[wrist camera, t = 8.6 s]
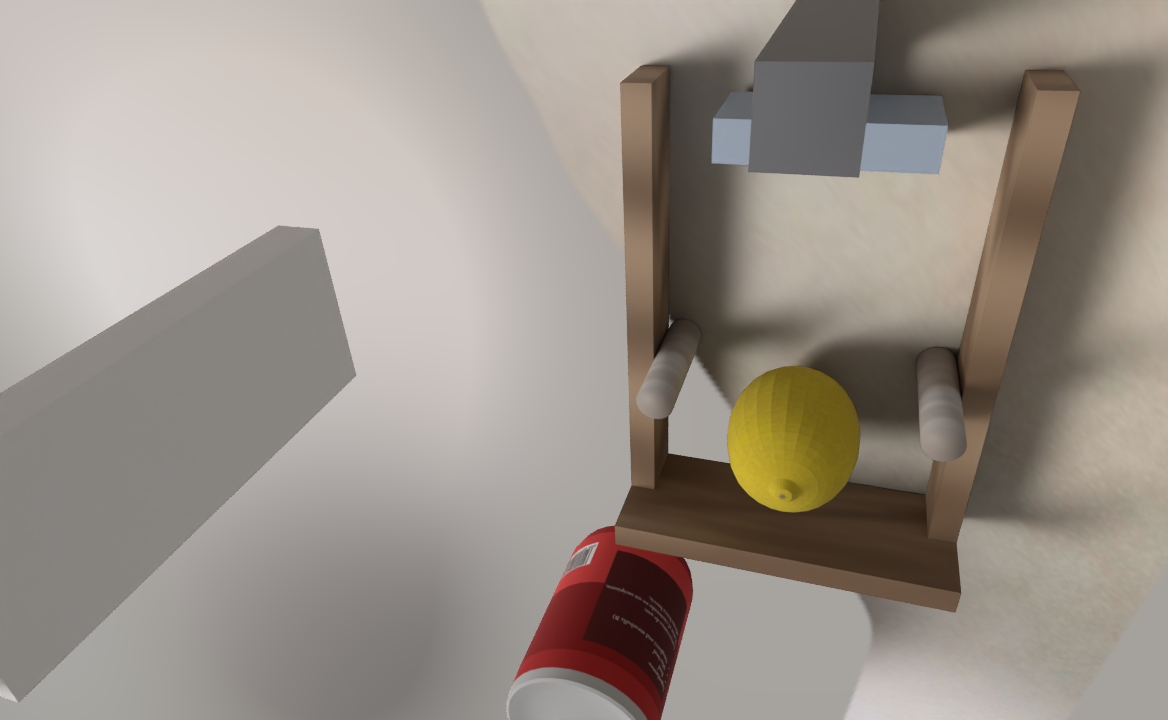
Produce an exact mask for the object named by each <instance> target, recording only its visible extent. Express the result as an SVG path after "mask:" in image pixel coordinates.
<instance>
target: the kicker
mask: <svg viewBox="0 0 1168 720" xmlns="http://www.w3.org/2000/svg"><path fill="white" fill-rule="evenodd" d="M879 4H880V0H796V1H795V3H794V4H793V6H792V7H791V9H790V10H789V12H788V13H787V15H786V16H785V18H784V19H783V21H782V22H781V24H780V25H779V26H778V28H777V29H776V31H775V32H774V34H773V35H772V37H771V38H770V40H769V41H768V43H767V44H766V46H765V47H764V49H763V50H762V51H761V53H760V54H759V56H758V57H757V59H756V60H755V67H754V84H753V92H736V91H732V92H731V93H730V95H729V96H728V98H727V99H726V100H725V102H724V103H723V105H722V106H721V108H720V109H719V111H718V112H717V113H716V115H715V116H714V118H713V134H712V163H717V164H737V165H749V169H748V172H761V173H781V174H801V175H820V176H840V177H859V173H860V170H861V171H882V172H902V173H923V174H939V171H940V166H941V160H942V155H943V150H944V145H945V140H946V134H947V129H948V123H947V118H946V114H945V109H944V104H943V99H942V96H928V95H880V94H870V93H871V85H872V78H873V71H874V63H875V52H876V40H877V28H878V16H879Z"/></svg>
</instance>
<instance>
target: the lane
mask: <svg viewBox="0 0 1168 720" xmlns="http://www.w3.org/2000/svg"><path fill="white" fill-rule="evenodd" d="M620 92H621V127H622V163H623V198H624V234H625V269H626V305H627V338H628V339H627V340H628V376H629V410H630V411H629V412H630V447H631V481H632V482H631V483H632V486H631V488H630V491H629V493H628V495H627V498H626V500H625V503H624V505H623V508H622V510H621V512H620V515H619V517H618V519H617V522H616V525H615V541H616V544H618V545H623V546H628V547H633V548H638V549H643V550H648V551H653V552H658V553H663V554H668V555H672V556H677V557H682V558H687V559H692V560H697V561H702V562H708V563H713V564H717V565H722V566H727V567H732V568H737V569H742V570H747V571H752V572H757V573H762V574H767V575H772V576H777V577H781V578H787V579H792V580H797V581H801V582H806V583H811V584H816V585H822V586H826V587H831V588H836V589H841V590H846V591H851V592H856V593H861V594H866V595H871V596H876V597H881V598H886V599H890V600H895V601H900V602H905V603H910V604H915V605H920V606H925V607H930V608H935V609H940V610H945V611H950V612H955V613H956V609H957V606H958V602H959V599H960V596H961V586H960V576H959V565H958V555H957V544H956V543H957V539H958V536H959V532H960V528H961V525H962V521H963V517H964V514H965V510H966V507H967V503H968V499H969V496H970V492H971V488H972V485H973V481H974V477H975V474H976V470H977V466H978V463H979V459H980V455H981V452H982V448H983V444H984V441H985V437H986V434H987V430H988V426H989V423H990V419H991V415H992V412H993V408H994V404H995V401H996V397H997V393H998V390H999V386H1000V382H1001V379H1002V375H1003V371H1004V368H1005V364H1006V361H1007V357H1008V353H1009V350H1010V346H1011V342H1012V339H1013V335H1014V331H1015V328H1016V324H1017V320H1018V317H1019V313H1020V309H1021V306H1022V302H1023V298H1024V295H1025V291H1026V288H1027V284H1028V280H1029V277H1030V273H1031V269H1032V266H1033V262H1034V258H1035V255H1036V251H1037V247H1038V244H1039V240H1040V236H1041V233H1042V229H1043V226H1044V222H1045V218H1046V215H1047V211H1048V207H1049V204H1050V200H1051V196H1052V193H1053V189H1054V185H1055V182H1056V178H1057V174H1058V171H1059V167H1060V163H1061V160H1062V156H1063V153H1064V149H1065V145H1066V142H1067V138H1068V134H1069V131H1070V127H1071V123H1072V120H1073V116H1074V112H1075V109H1076V105H1077V101H1078V98H1079V94H1080V90H1079V89H1078V88H1077V87H1076V85H1075V84H1074V83H1073V82H1072V80H1071V79H1070V78H1069V77H1068V76H1067V74H1066V73H1065V72H1064V71H1038V70H1025V73H1024V77H1023V82H1022V86H1021V90H1020V94H1019V99H1018V103H1017V107H1016V112H1015V116H1014V120H1013V124H1012V129H1011V133H1010V137H1009V141H1008V146H1007V150H1006V154H1005V158H1004V163H1003V167H1002V171H1001V175H1000V180H999V184H998V188H997V193H996V197H995V201H994V205H993V210H992V214H991V218H990V222H989V227H988V231H987V235H986V239H985V244H984V248H983V252H982V256H981V261H980V265H979V269H978V274H977V278H976V282H975V286H974V291H973V295H972V299H971V303H970V308H969V312H968V316H967V320H966V325H965V329H964V333H963V337H962V342H961V346H960V350H959V355H958V359H957V363H956V358H955V356H954V354H953V353H952V352H951V351H949V350H948V349H945V348H942V347H932V348H928V349H926V350H924V351H923V352H921V353H920V355H919V356H918V358H917V362H916V365H917V385H918V405H919V425H920V446H921V449H922V451H923V453H924V454H925V455H926V456H927V457H929V458H931V459H933V460H934V461H933V465H932V470H931V474H930V478H929V482H928V487H927V491H926V495H921V494H915V493H909V492H902V491H896V490H890V489H884V488H878V487H872V486H866V485H859V484H853V483H846V485H845V486H844V487H843V488H842V490H841V491H840V492H839V493H838V494H837V495H836V496H835V497H834V498H833V499H832V500H830V501H828V502H827V503H825V504H823V505H822V506H820V507H818V508H815V509H812V510H809V511H803V512H783V511H778V510H775V509H771V508H769V507H767V506H765V505H763V504H761V503H759V502H757V501H756V500H755V499H753V498H752V497H751V496H750V495H748V494H747V492H746V491H745V490H744V489H743V488H742V487H741V485H740V484H739V483H738V481H737V479H736V477H735V475H734V473H733V470H732V468H731V464H730V463H724V462H718V461H711V460H705V459H699V458H693V457H686V456H681V455H675V454H668V416H669V415H670V414H671V412H672V410H673V408H674V405H675V403H676V400H677V397H678V395H679V392H680V390H681V388H682V385H683V382H684V380H685V377H686V375H687V372H688V370H689V367H690V365H691V363H692V360H693V357H694V355H695V352H696V350H697V347H698V345H699V342H700V340H701V331H700V328H699V327H698V326H697V325H696V324H695V323H694V322H692V321H690V320H686V319H680V320H677V321H675V322H673V323H672V324H671V326H670V327H669V133H670V66H640V67H639V68H638V69H636V70H635V71H634V72H633V73H632V74H630V75H629V76H628V77H627V78H626V79H624V80H623V81H622V82H621V83H620Z"/></svg>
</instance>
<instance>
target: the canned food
mask: <svg viewBox="0 0 1168 720" xmlns="http://www.w3.org/2000/svg"><path fill="white" fill-rule="evenodd" d="M692 595H693V587H692V578H691V572H690V569H689V567H688V565H687V563H686V561H685V559H684V558H682V557H677V556H672V555H668V554H663V553H658V552H653V551H648V550H643V549H638V548H633V547H628V546H623V545H618V544H616V541H615V526H609V527H605V528H602V529H598V530H596V531H595V532H593V533H591V534H590V535H589V536H588V537H587V538H586V539H584V540H583V541H582V542H581V543H580V545H578V546H577V547H576V549H575V551H574V553H573V554H572V556H571V558H570V561H569V563H568V565H567V567H566V569H565V571H564V574H563V576H562V578H561V580H560V582H559V584H558V586H557V589H556V591H555V593H554V595H553V597H552V599H551V601H550V604H549V606H548V608H547V610H546V612H545V614H544V616H543V618H542V621H541V623H540V625H539V627H538V629H537V631H536V633H535V636H534V638H533V640H532V642H531V644H530V646H529V648H528V651H527V653H526V655H525V657H524V659H523V661H522V664H521V666H520V668H519V670H518V673H517V675H516V677H515V680H514V682H513V684H512V686H511V689H510V693H509V696H508V698H507V704H506V710H507V716H508V719H509V720H661V716H662V712H663V709H664V705H665V700H666V697H667V693H668V690H669V686H670V682H671V678H672V674H673V671H674V666H675V663H676V659H677V655H678V652H679V648H680V644H681V640H682V636H683V632H684V629H685V625H686V621H687V617H688V614H689V610H690V606H691V602H692Z"/></svg>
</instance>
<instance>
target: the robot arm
mask: <svg viewBox="0 0 1168 720" xmlns="http://www.w3.org/2000/svg"><path fill="white" fill-rule="evenodd" d="M355 376H356V373H355V369H354V365H353V361H352V357H351V353H350V349H349V345H348V341H347V337H346V334H345V330H344V326H343V322H342V318H341V314H340V310H339V307H338V302H337V298H336V294H335V291H334V287H333V283H332V279H331V275H330V271H329V267H328V263H327V259H326V256H325V252H324V248H323V244H322V240H321V236H320V232H319V229H313V228H300V227H289V226H277V227H275V228H274V229H272V230H270V231H269V232H267V233H266V234H264V235H262V236H260V237H259V238H257V239H256V240H254V241H252V242H251V243H249V244H247V245H246V246H244V247H242V248H241V249H239V250H237V251H236V252H234V253H232V254H231V255H229V256H227V257H226V258H224V259H222V260H221V261H219V262H217V263H216V264H214V265H212V266H211V267H209V268H207V269H206V270H204V271H202V272H201V273H199V274H198V275H196V276H194V277H192V278H191V279H189V280H187V281H186V282H184V283H182V284H181V285H179V286H177V287H176V288H174V289H172V290H171V291H169V292H168V293H166V294H164V295H163V296H161V297H159V298H157V299H156V300H155V301H153V302H151V303H149V304H148V305H146V306H144V307H143V308H141V309H139V310H138V311H136V312H134V313H133V314H131V315H129V316H128V317H126V318H124V319H123V320H121V321H119V322H118V323H116V324H114V325H113V326H111V327H109V328H108V329H106V330H104V331H103V332H101V333H99V334H98V335H96V336H94V337H93V338H91V339H89V340H88V341H86V342H84V343H83V344H81V345H80V346H78V347H76V348H75V349H73V350H71V351H70V352H68V353H66V354H65V355H63V356H61V357H60V358H58V359H56V360H55V361H53V362H51V363H50V364H48V365H47V366H45V367H43V368H42V369H40V370H38V371H36V372H35V373H33V374H31V375H30V376H28V377H26V378H25V379H23V380H21V381H20V382H18V383H16V384H15V385H13V386H12V387H10V388H8V389H7V390H5V391H3V392H2V393H0V696H1V697H4V698H7V699H9V700H12V701H15V702H18V703H19V702H20V701H21V700H22V699H23V698H24V697H25V696H26V695H27V694H28V693H29V692H30V691H31V690H32V689H33V688H35V687H36V686H37V685H38V684H39V683H40V682H41V681H42V680H43V679H44V678H45V677H46V676H47V675H48V674H49V673H50V672H51V671H52V670H53V669H54V668H55V667H56V666H57V665H58V664H59V663H60V662H61V661H62V660H63V659H64V658H65V657H66V656H67V655H68V654H70V653H71V652H72V651H73V650H74V649H75V648H76V647H77V646H78V645H79V644H80V643H81V642H82V641H83V640H84V639H85V638H86V637H87V636H88V635H89V634H90V633H91V632H92V631H93V630H94V629H95V628H96V627H97V626H98V625H99V624H101V622H103V621H104V620H105V619H106V618H107V617H108V616H109V615H110V614H111V613H112V612H113V611H114V610H115V609H116V608H117V607H118V606H119V605H120V604H121V603H122V602H123V601H124V600H125V599H126V598H127V597H128V596H129V595H130V594H131V593H133V592H134V591H135V590H136V589H137V588H138V587H139V586H140V585H141V584H142V583H143V582H144V581H145V580H146V579H147V578H148V577H149V576H150V575H151V574H152V573H153V572H154V571H155V570H156V569H157V568H158V567H159V566H160V565H161V564H162V563H163V562H164V561H165V560H166V559H168V558H169V556H171V555H172V554H173V553H174V552H175V551H176V550H177V549H178V548H179V547H180V546H181V545H182V544H183V543H184V542H185V541H186V540H187V539H188V538H189V537H190V536H191V535H192V534H193V533H194V532H195V531H196V530H197V529H199V527H201V526H202V525H203V524H204V523H205V522H206V521H207V520H208V519H209V518H210V517H211V516H212V515H213V514H214V513H215V512H216V511H217V510H218V509H219V508H220V507H221V506H222V505H223V504H224V503H225V502H226V501H227V500H228V499H229V498H230V497H232V495H234V494H235V493H236V492H237V491H238V490H239V489H240V488H241V487H242V486H243V485H244V484H245V483H246V482H247V481H248V480H249V479H250V478H251V477H252V476H253V475H254V474H255V473H256V472H257V471H258V470H259V469H260V468H261V467H262V466H263V465H264V464H266V462H268V461H269V460H270V459H271V458H272V457H273V456H274V455H275V454H276V453H277V452H278V451H279V450H280V449H281V448H282V447H283V446H284V445H285V444H286V443H287V442H288V441H289V440H290V439H291V438H292V437H293V436H294V435H295V434H296V433H298V432H299V431H300V430H301V429H302V428H303V427H304V426H305V425H306V424H307V423H308V422H309V421H310V420H311V419H312V418H313V417H314V416H315V415H316V414H317V413H318V412H319V411H320V410H321V409H322V408H323V407H324V406H325V405H326V404H327V403H328V402H329V401H331V400H332V399H333V397H335V396H336V395H337V394H338V393H339V392H340V391H341V390H342V389H343V388H344V387H345V386H346V385H347V384H348V383H349V382H350V381H351V380H352V379H353V378H354V377H355Z"/></svg>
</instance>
